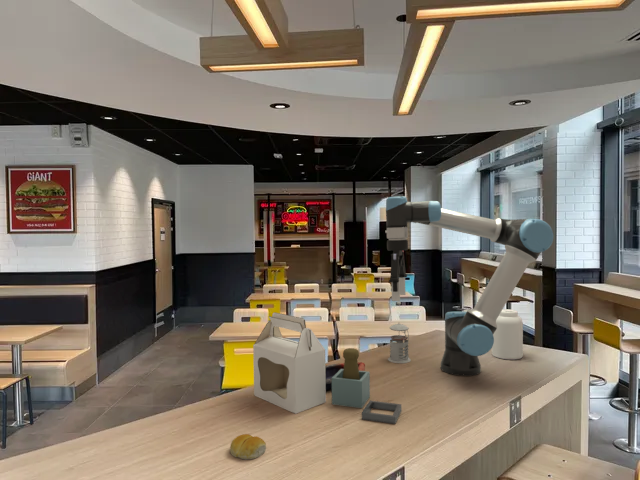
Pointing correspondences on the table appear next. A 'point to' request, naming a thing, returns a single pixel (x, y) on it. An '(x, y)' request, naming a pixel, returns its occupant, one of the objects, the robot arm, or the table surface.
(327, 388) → the dish
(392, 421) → the socket collar
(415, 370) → the table surface
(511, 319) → the white jar
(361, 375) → the open box
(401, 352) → the french press
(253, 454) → the bread roll
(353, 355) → the olive brown hourglass shape
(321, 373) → the gable box
